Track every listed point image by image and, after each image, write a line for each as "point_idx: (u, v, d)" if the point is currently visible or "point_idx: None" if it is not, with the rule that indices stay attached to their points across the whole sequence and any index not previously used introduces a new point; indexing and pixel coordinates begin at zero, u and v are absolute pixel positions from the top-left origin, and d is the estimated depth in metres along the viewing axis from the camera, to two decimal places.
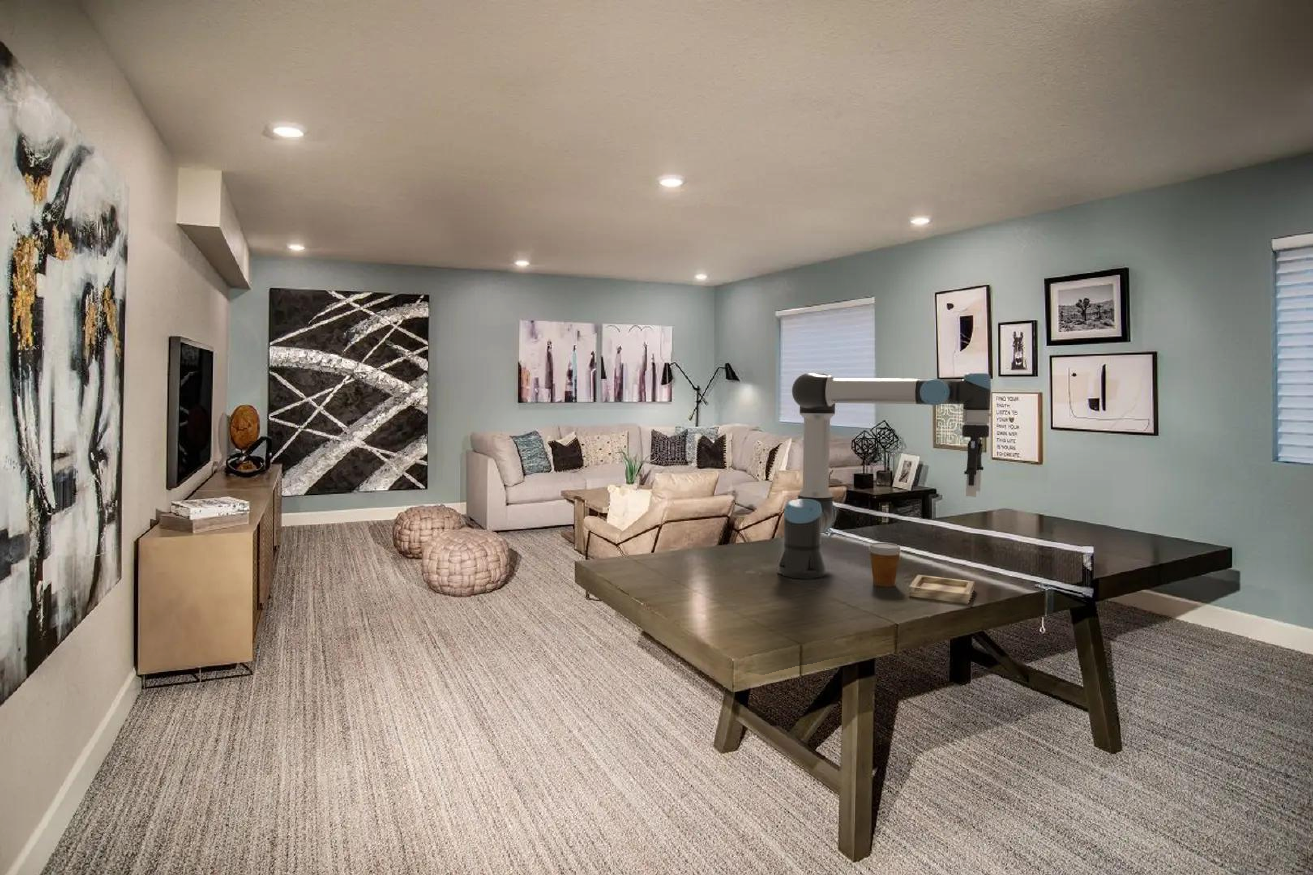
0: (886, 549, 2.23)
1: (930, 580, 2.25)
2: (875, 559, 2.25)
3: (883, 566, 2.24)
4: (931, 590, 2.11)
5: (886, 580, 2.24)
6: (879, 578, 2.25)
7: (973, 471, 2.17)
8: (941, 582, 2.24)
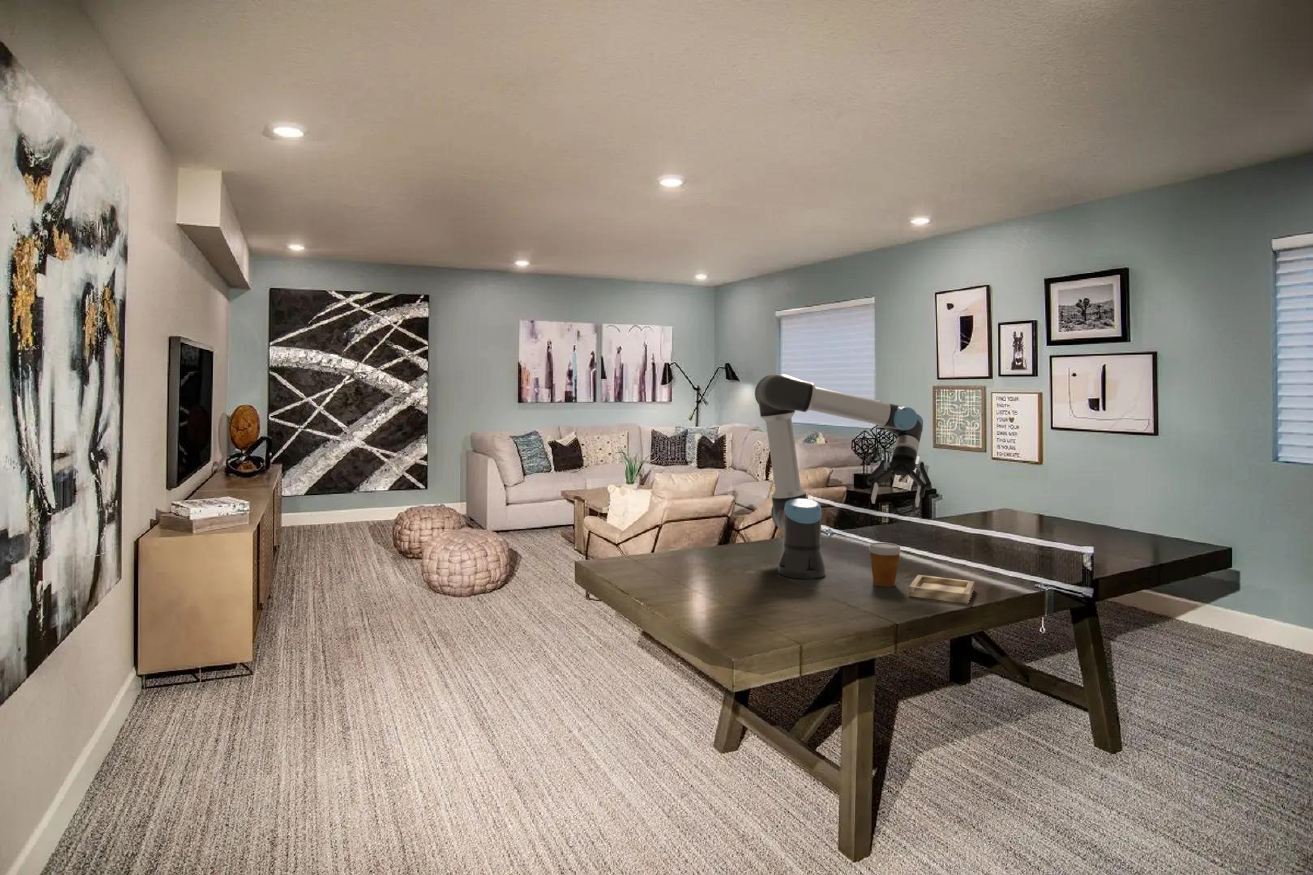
0: (886, 549, 2.23)
1: (930, 580, 2.25)
2: (875, 559, 2.25)
3: (883, 566, 2.24)
4: (931, 590, 2.11)
5: (886, 580, 2.24)
6: (879, 578, 2.25)
7: (931, 487, 2.36)
8: (941, 582, 2.24)
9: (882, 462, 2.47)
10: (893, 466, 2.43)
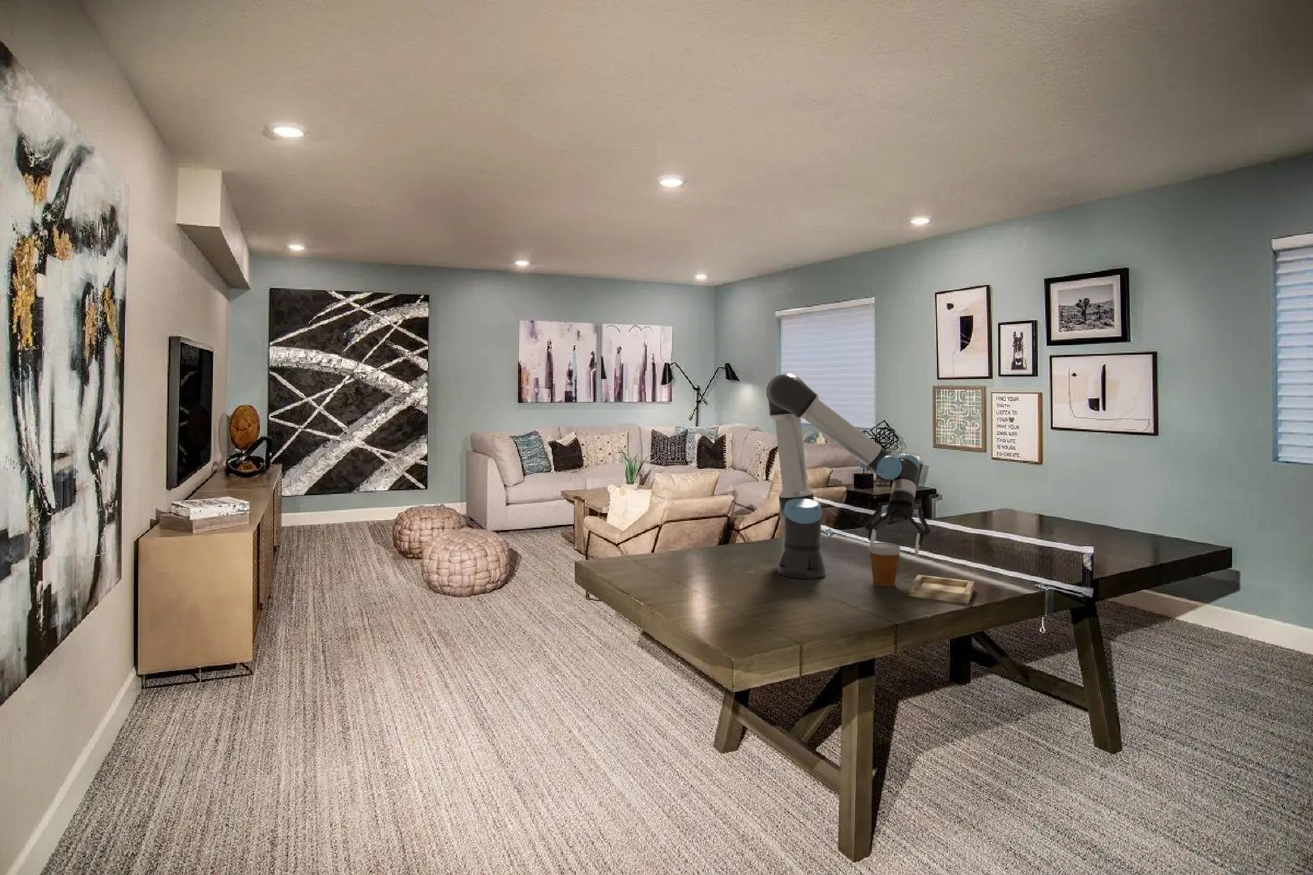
0: (886, 549, 2.23)
1: (930, 580, 2.25)
2: (875, 559, 2.25)
3: (883, 566, 2.24)
4: (931, 590, 2.11)
5: (886, 580, 2.24)
6: (879, 578, 2.25)
7: (930, 534, 2.31)
8: (941, 582, 2.24)
9: (879, 507, 2.41)
10: (891, 512, 2.38)
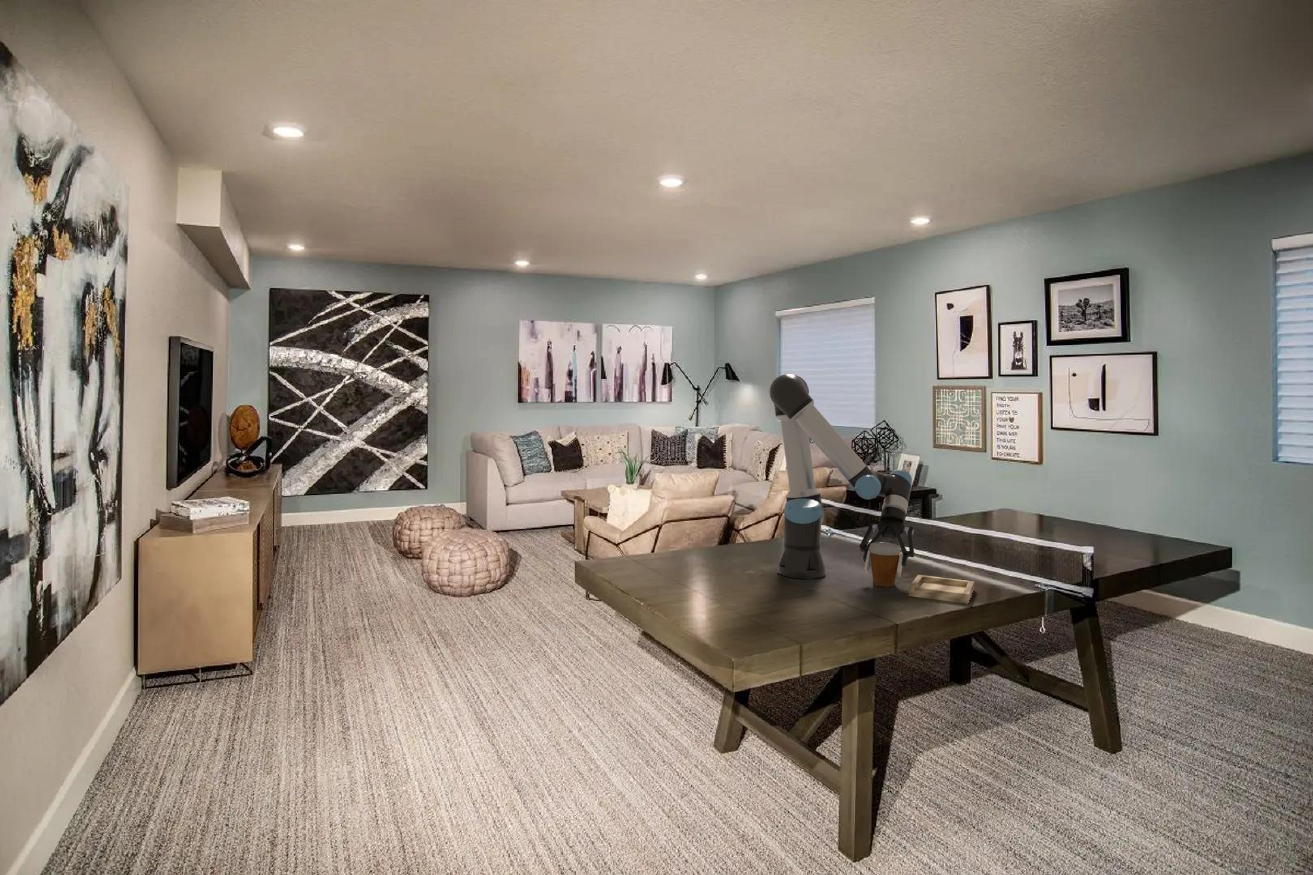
0: (886, 549, 2.22)
1: (930, 580, 2.25)
2: (875, 559, 2.25)
3: (883, 566, 2.24)
4: (931, 590, 2.11)
5: (886, 580, 2.24)
6: (879, 578, 2.25)
7: (913, 555, 2.25)
8: (941, 582, 2.24)
9: (870, 525, 2.36)
10: (882, 529, 2.33)
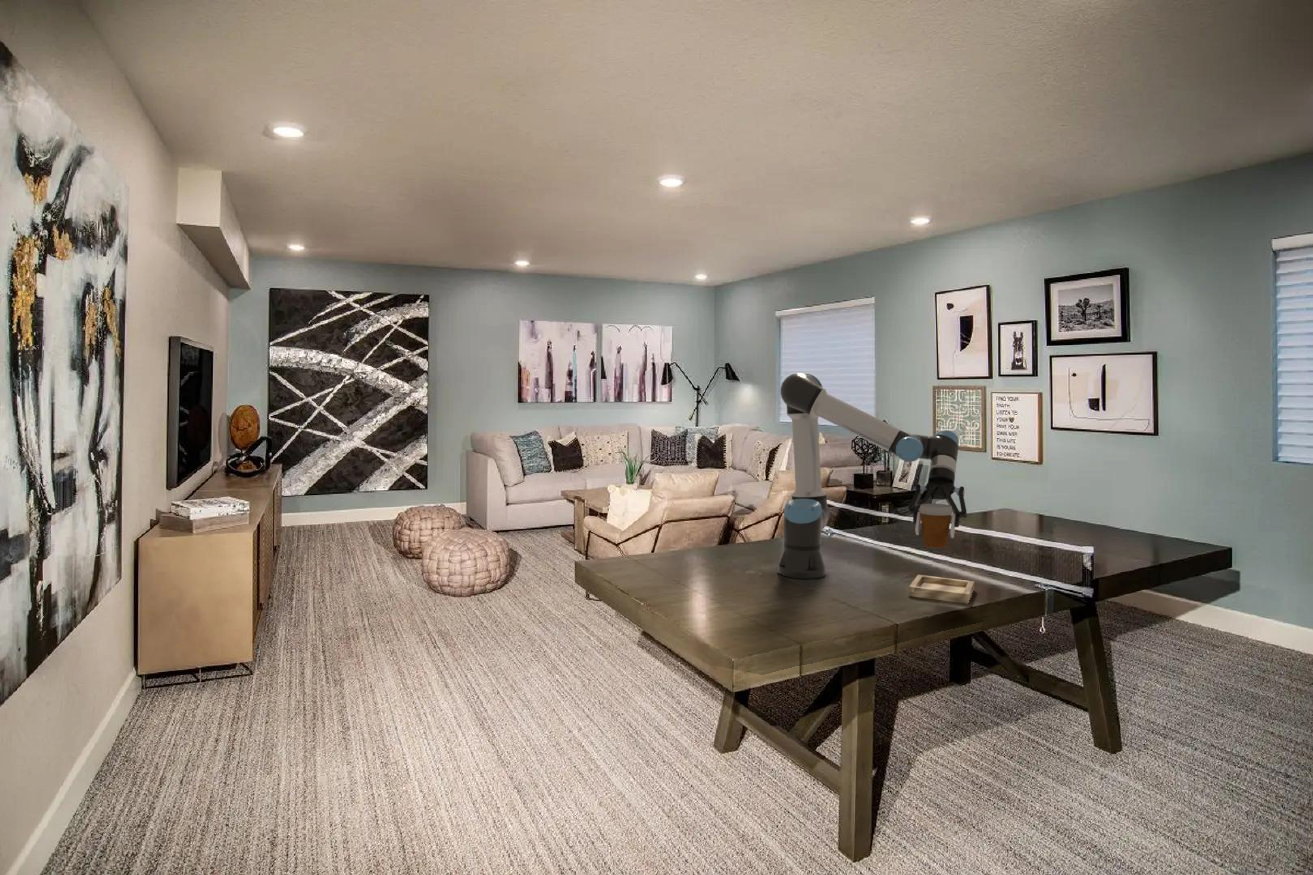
0: (938, 509, 2.14)
1: (930, 580, 2.25)
2: (926, 520, 2.16)
3: (935, 526, 2.15)
4: (931, 590, 2.11)
5: (938, 541, 2.15)
6: (931, 540, 2.16)
7: (966, 515, 2.17)
8: (941, 582, 2.24)
9: (918, 487, 2.27)
10: (932, 490, 2.24)
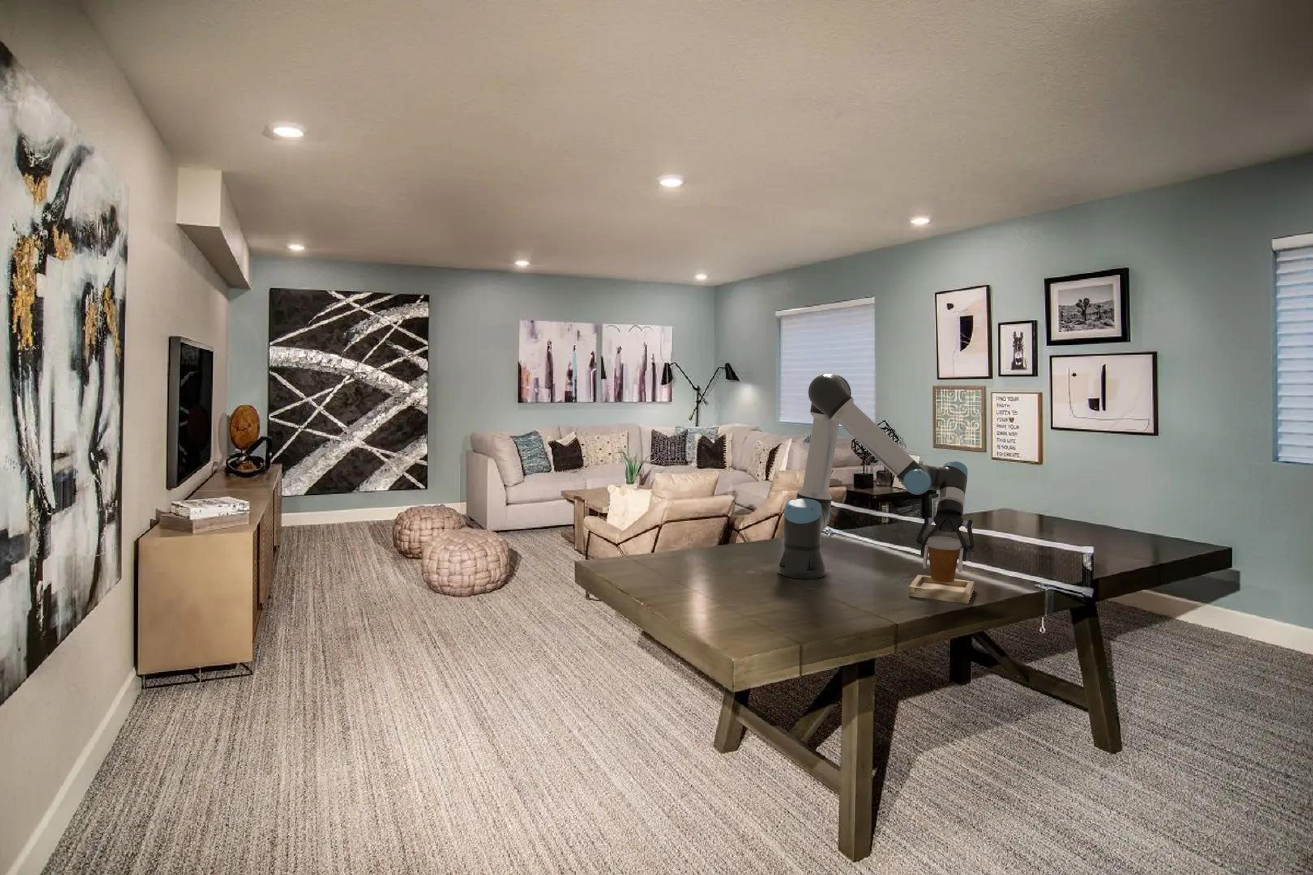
0: (946, 543, 2.12)
1: (930, 580, 2.25)
2: (934, 553, 2.15)
3: (942, 561, 2.13)
4: (931, 590, 2.11)
5: (946, 576, 2.14)
6: (938, 574, 2.15)
7: (974, 550, 2.15)
8: (941, 582, 2.24)
9: (926, 519, 2.25)
10: (940, 522, 2.22)
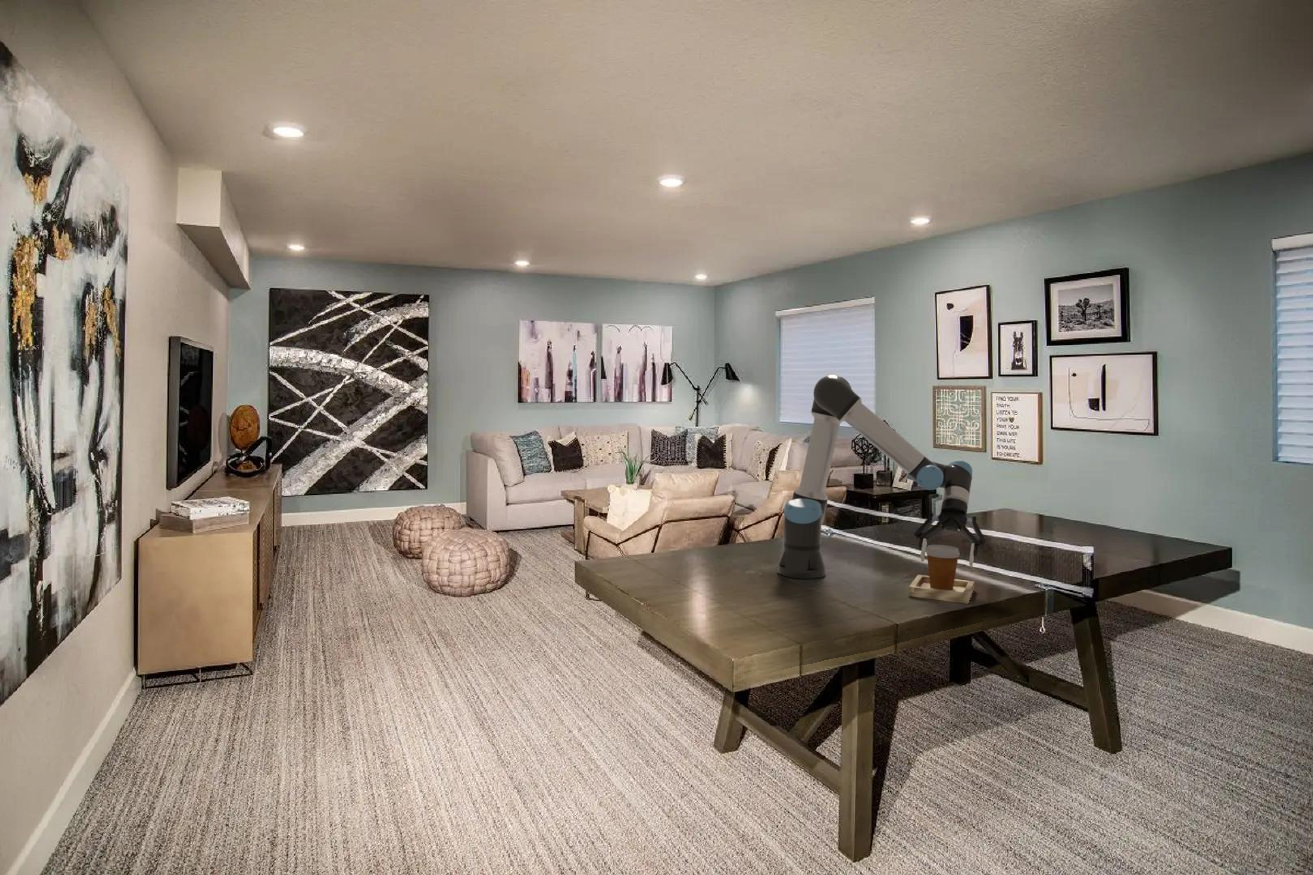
0: (945, 552, 2.14)
1: None
2: (933, 562, 2.16)
3: (941, 569, 2.15)
4: (931, 590, 2.11)
5: (945, 584, 2.15)
6: (937, 582, 2.16)
7: (985, 544, 2.20)
8: None
9: (930, 515, 2.31)
10: (943, 520, 2.28)
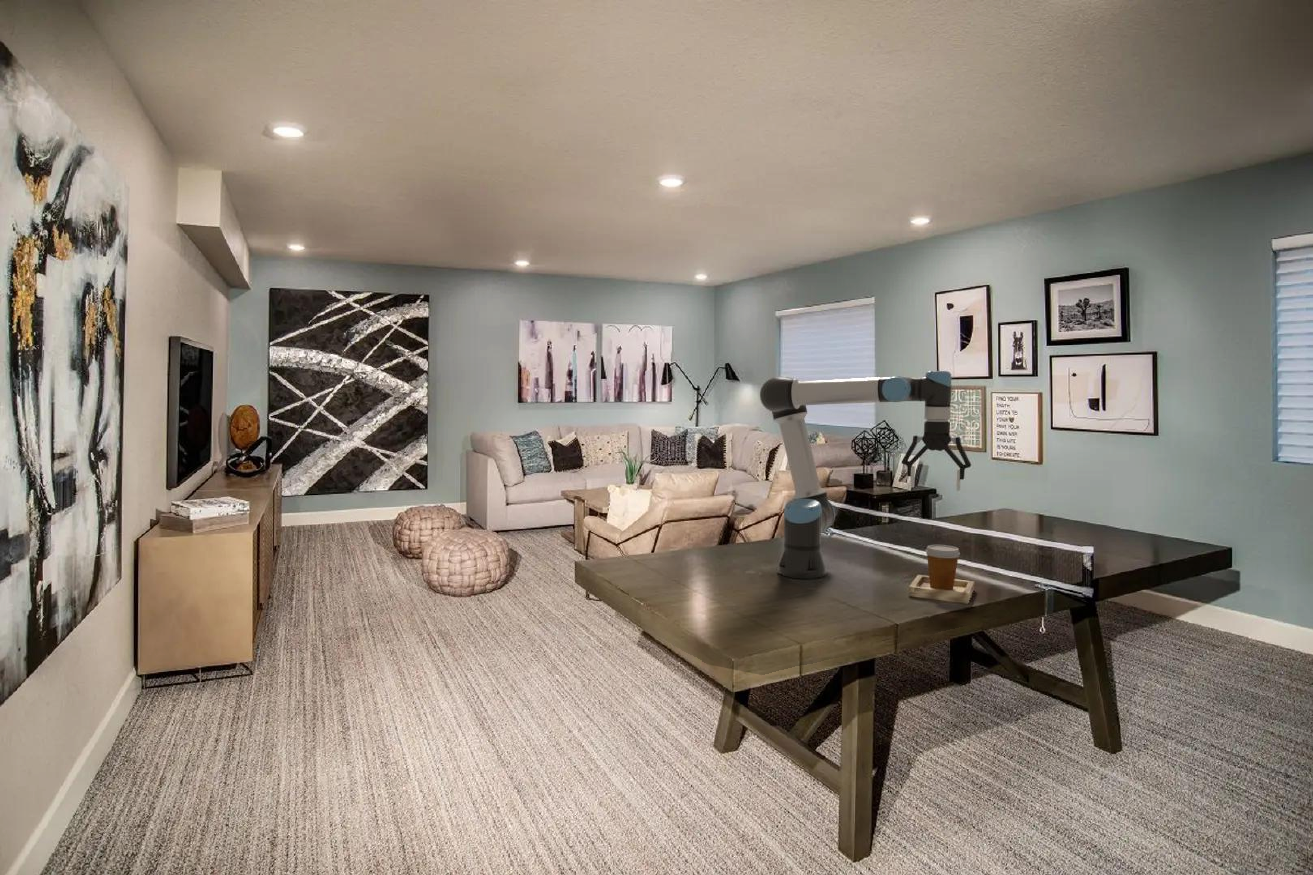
0: (945, 552, 2.14)
1: None
2: (933, 562, 2.16)
3: (941, 569, 2.15)
4: (931, 590, 2.11)
5: (945, 584, 2.15)
6: (937, 582, 2.16)
7: (970, 465, 2.28)
8: None
9: (914, 439, 2.33)
10: (927, 445, 2.31)
